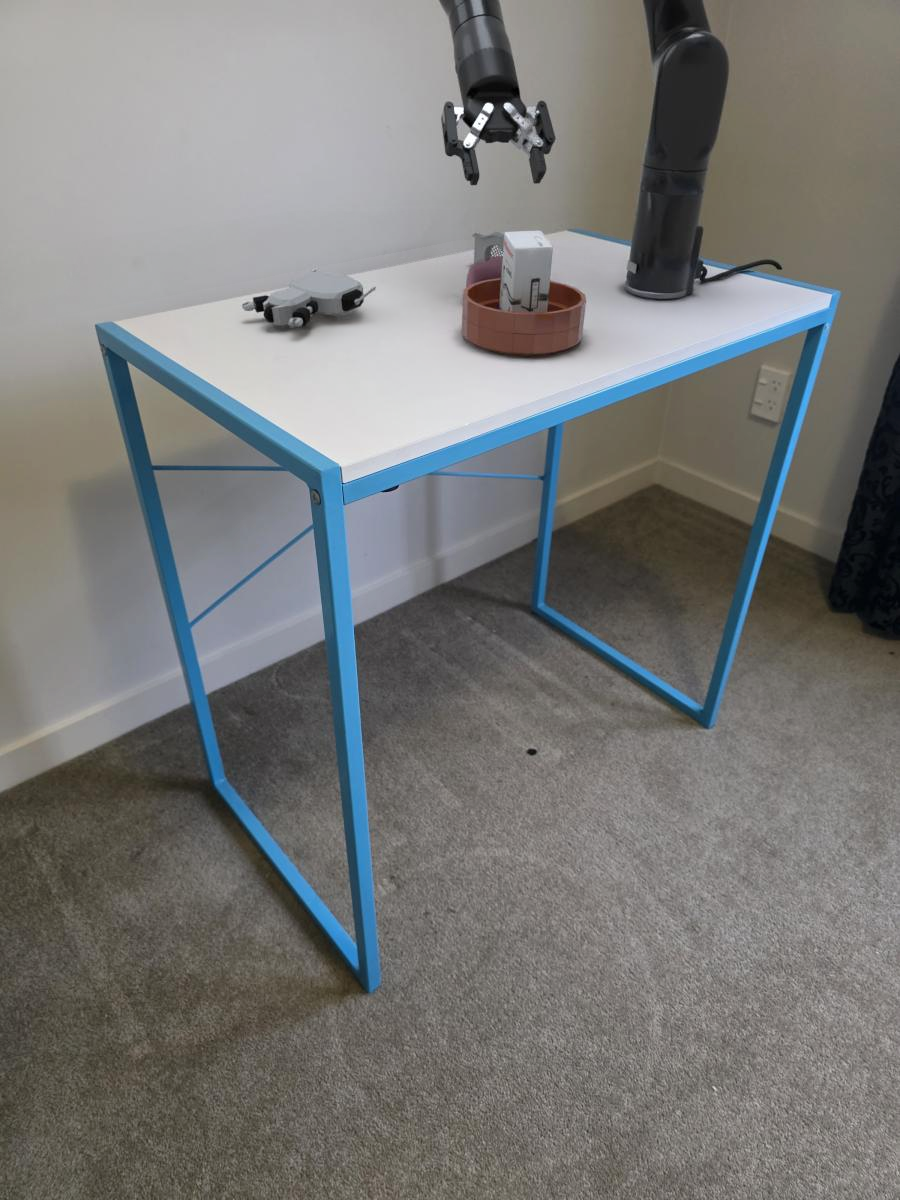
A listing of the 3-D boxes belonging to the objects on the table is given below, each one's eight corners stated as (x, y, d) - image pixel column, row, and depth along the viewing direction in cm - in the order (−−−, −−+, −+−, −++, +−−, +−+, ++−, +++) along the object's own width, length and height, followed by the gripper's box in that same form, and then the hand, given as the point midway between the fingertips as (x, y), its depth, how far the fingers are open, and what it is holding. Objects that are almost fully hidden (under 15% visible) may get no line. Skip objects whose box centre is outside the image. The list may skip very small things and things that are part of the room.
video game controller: (532, 310, 127) (536, 261, 126) (532, 305, 122) (536, 253, 121) (465, 307, 128) (468, 258, 126) (463, 301, 123) (466, 250, 122)
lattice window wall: (536, 279, 135) (539, 239, 132) (529, 281, 134) (532, 241, 131) (477, 264, 141) (479, 226, 138) (470, 266, 140) (471, 228, 137)
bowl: (556, 315, 121) (559, 274, 117) (599, 353, 108) (605, 309, 105) (448, 322, 117) (449, 280, 114) (481, 362, 105) (483, 317, 102)
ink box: (497, 322, 116) (501, 229, 109) (533, 321, 116) (540, 229, 109) (507, 344, 109) (513, 246, 102) (546, 343, 109) (554, 246, 102)
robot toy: (300, 348, 110) (381, 313, 119) (294, 313, 107) (378, 280, 116) (239, 326, 116) (320, 295, 125) (233, 293, 113) (316, 263, 122)
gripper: (437, 44, 107) (460, 162, 105) (545, 45, 110) (569, 159, 108) (427, 89, 114) (448, 200, 112) (528, 89, 117) (551, 197, 115)
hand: (507, 180), depth 110 cm, fingers open, 8 cm apart
